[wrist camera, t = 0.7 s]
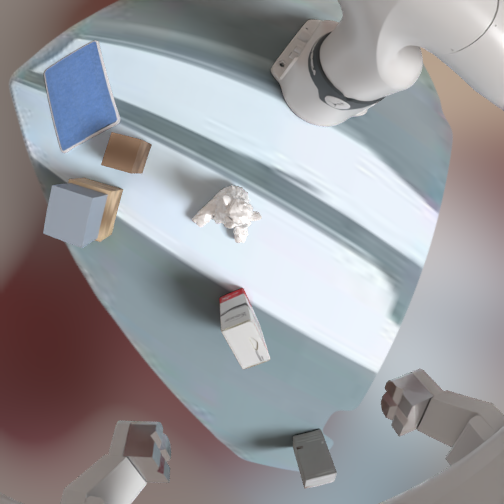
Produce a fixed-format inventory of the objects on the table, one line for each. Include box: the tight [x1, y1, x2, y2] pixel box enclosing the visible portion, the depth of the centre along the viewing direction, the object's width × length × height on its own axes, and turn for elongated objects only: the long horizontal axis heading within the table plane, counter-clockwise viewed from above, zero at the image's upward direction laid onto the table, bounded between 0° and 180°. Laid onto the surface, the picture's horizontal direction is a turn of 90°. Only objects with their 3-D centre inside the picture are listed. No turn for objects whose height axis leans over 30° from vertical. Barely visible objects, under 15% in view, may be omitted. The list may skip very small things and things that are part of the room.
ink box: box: [219, 288, 270, 369], centre depth 47 cm, size 8×5×12 cm, turn 22°
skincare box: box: [293, 429, 337, 489], centre depth 58 cm, size 8×7×16 cm
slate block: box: [43, 183, 108, 248], centre depth 35 cm, size 7×7×6 cm
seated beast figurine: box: [192, 185, 262, 243], centre depth 41 cm, size 10×9×12 cm
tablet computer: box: [44, 40, 120, 153], centre depth 37 cm, size 19×13×1 cm, turn 19°
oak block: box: [68, 178, 123, 242], centre depth 41 cm, size 8×8×6 cm
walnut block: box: [101, 132, 151, 173], centre depth 39 cm, size 5×5×7 cm
